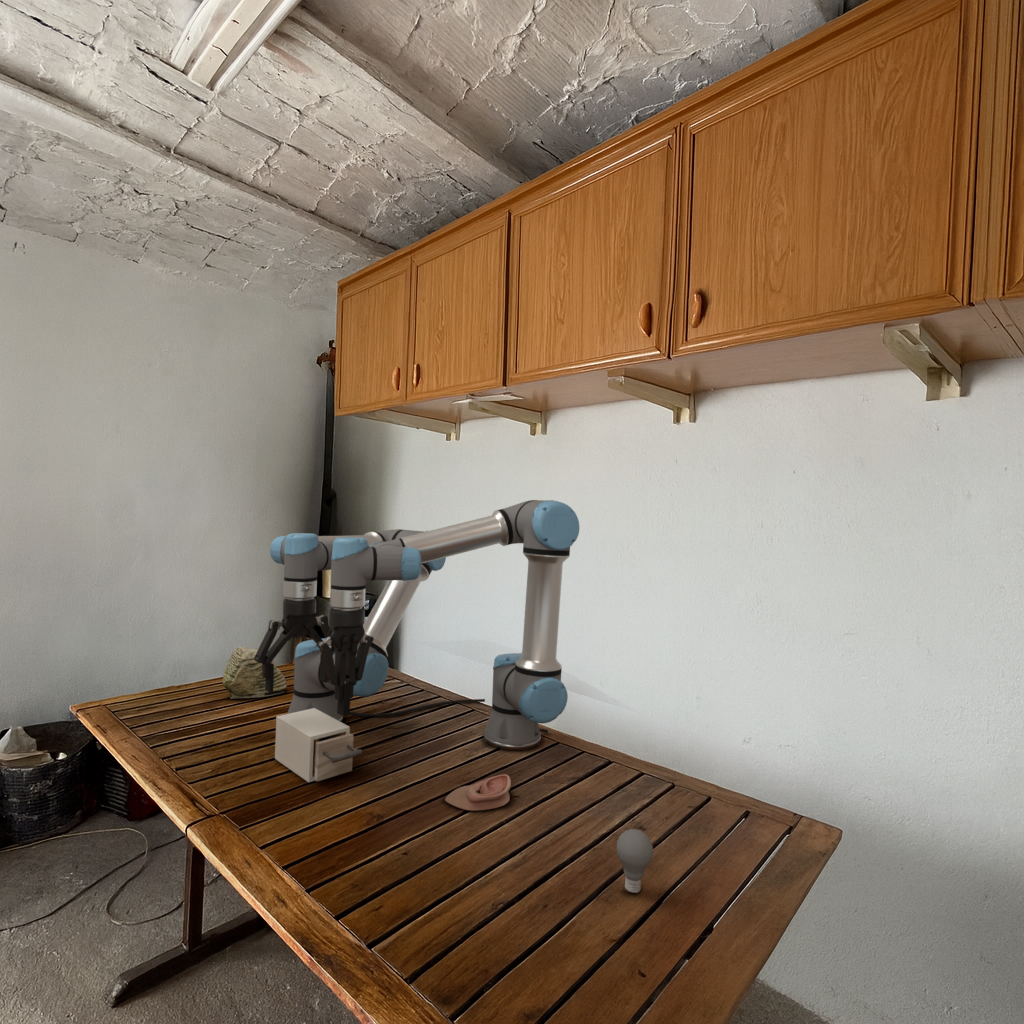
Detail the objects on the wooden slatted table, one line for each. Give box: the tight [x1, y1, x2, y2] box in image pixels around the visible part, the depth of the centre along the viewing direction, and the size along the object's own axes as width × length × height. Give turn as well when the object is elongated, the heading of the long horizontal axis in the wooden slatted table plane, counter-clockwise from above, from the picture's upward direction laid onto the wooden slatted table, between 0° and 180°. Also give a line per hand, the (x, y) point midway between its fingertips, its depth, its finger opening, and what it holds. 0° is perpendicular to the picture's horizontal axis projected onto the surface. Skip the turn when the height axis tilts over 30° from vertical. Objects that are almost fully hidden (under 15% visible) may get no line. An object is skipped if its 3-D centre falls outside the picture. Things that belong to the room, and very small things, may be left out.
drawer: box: [313, 733, 363, 782], centre depth 145 cm, size 21×9×8 cm, turn 46°
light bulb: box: [615, 828, 654, 894], centre depth 106 cm, size 6×6×10 cm
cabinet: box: [274, 708, 351, 783], centre depth 149 cm, size 17×10×10 cm, turn 46°
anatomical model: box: [444, 773, 512, 812], centre depth 136 cm, size 13×4×12 cm
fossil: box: [222, 646, 288, 699], centre depth 198 cm, size 9×18×15 cm, turn 132°
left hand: (297, 686), depth 152 cm, fingers open, 13 cm apart
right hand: (343, 713), depth 140 cm, fingers closed
